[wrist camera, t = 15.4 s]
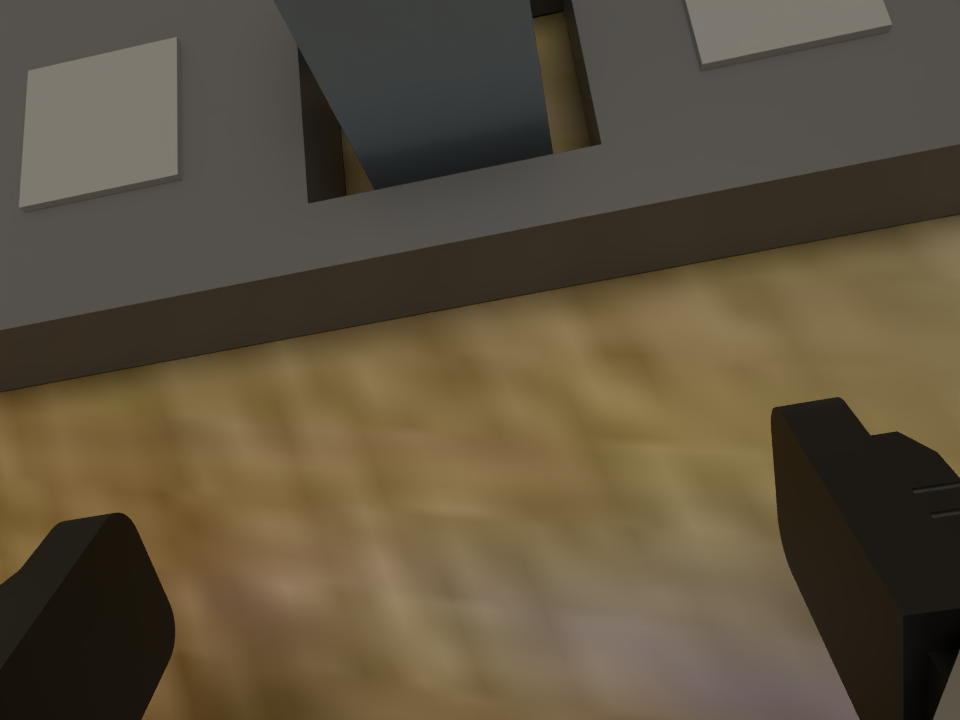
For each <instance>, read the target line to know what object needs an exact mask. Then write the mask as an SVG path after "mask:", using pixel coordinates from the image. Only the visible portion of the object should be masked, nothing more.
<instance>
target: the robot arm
mask: <svg viewBox="0 0 960 720" xmlns="http://www.w3.org/2000/svg"><path fill="white" fill-rule="evenodd" d="M771 433H772V447H773V460H774V473H775V487H776V500H777V514H778V523H779V530H780V535H781V540H782V544H783V548H784V552H785V556H786V559H787V562H788V565H789V567H790V570H791V572H792V575H793V577H794V579H795V581H796V583H797V585H798V588H799V590H800V592H801V594H802V596H803V598H804V600H805V603H806V605H807V607H808V609H809V611H810V613H811V616H812V618H813V620H814V622H815V624H816V626H817V629H818V631H819V633H820V635H821V637H822V639H823V641H824V644H825V646H826V648H827V650H828V652H829V654H830V657H831V659H832V661H833V663H834V665H835V667H836V670H837V672H838V674H839V676H840V678H841V680H842V682H843V685H844V687H845V689H846V691H847V693H848V695H849V698H850V700H851V702H852V704H853V706H854V708H855V711H856V713H857V715H858V717H859V719H860V720H960V478H959V477H958V476H957V474H956V473H955V472H954V471H953V470H952V469H951V468H950V466H949V465H948V464H947V463H946V462H945V461H944V459H943V458H942V457H941V456H940V455H939V454H938V453H937V452H936V451H934V450H932V449H930V448H928V447H926V446H924V445H922V444H920V443H918V442H917V441H915V440H913V439H911V438H909V437H907V436H905V435H903V434H901V433H899V432H898V431H897V432H891V433H884V434H878V435H870V434H869V433H868V432H867V430H866V429H865V428H864V426H863V425H862V424H861V422H860V421H859V420H858V418H857V417H856V416H855V414H854V413H853V412H852V410H851V409H850V408H849V407H848V405H847V404H846V403H845V401H844V400H843V399H841V398H840V397H835V398H829V399H823V400H817V401H811V402H805V403H799V404H792V405H786V406H780V407H775V408H773V410H772V414H771ZM174 642H175V622H174V616H173V612H172V608H171V606H170V603H169V601H168V599H167V596H166V594H165V592H164V590H163V587H162V585H161V583H160V581H159V578H158V576H157V574H156V571H155V569H154V567H153V565H152V562H151V560H150V558H149V556H148V553H147V551H146V549H145V547H144V544H143V542H142V540H141V538H140V535H139V533H138V531H137V529H136V527H135V525H134V523H133V522H132V520H131V519H130V518H129V517H128V516H126V515H125V514H123V513H111V514H105V515H99V516H93V517H87V518H81V519H74V520H68V521H63V522H60V523H58V524H57V525H55V527H54V528H53V529H52V530H51V531H50V532H49V534H48V535H47V536H46V537H45V539H44V540H43V541H42V543H41V544H40V545H39V546H38V548H37V549H36V550H35V551H34V553H33V554H32V555H31V556H30V558H29V559H28V560H27V562H26V563H25V564H24V565H23V567H22V568H21V569H20V570H19V571H18V572H16V573H15V574H14V575H13V576H11V577H10V578H9V579H8V580H6V581H5V582H4V583H3V584H1V585H0V720H141V719H142V717H143V715H144V713H145V711H146V709H147V707H148V704H149V702H150V700H151V698H152V696H153V694H154V692H155V690H156V688H157V686H158V683H159V681H160V679H161V677H162V675H163V673H164V671H165V669H166V667H167V665H168V662H169V660H170V658H171V655H172V652H173V648H174Z"/></svg>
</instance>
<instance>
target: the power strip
mask: <svg viewBox="0 0 960 720" xmlns="http://www.w3.org/2000/svg"><path fill="white" fill-rule="evenodd" d="M530 7H531V13H532V17H535V16H540V15H544V14H549V13H553V12H558V11H562V10H564V14H565V19H566V24H567V29H568V34H569V39H570V44H571V49H572V53H573V58H574V63H575V68H576V73H577V78H578V83H579V88H580V93H581V98H582V103H583V108H584V113H585V117H586V122H587V127H588V132H589V137H590V142H591V146H590V147H586V148H581V149H576V150H571V151H566V152H561V153H556V154H551V155H546V156H541V157H536V158H531V159H526V160H521V161H516V162H511V163H507V164H502V165H497V166H492V167H487V168H482V169H477V170H472V171H467V172H462V173H457V174H452V175H447V176H442V177H437V178H432V179H428V180H423V181H418V182H413V183H408V184H403V185H398V186H393V187H388V188H383V189H378V190H373V191H368V192H363V193H358V194H353V195H349V196H346V191H345V179H344V167H343V155H342V143H341V132H340V124H339V122H338V120H337V118H336V116H335V114H334V112H333V111H332V109H331V107H330V105H329V103H328V101H327V99H326V97H325V96H324V94H323V92H322V90H321V88H320V86H319V84H318V83H317V81H316V79H315V77H314V75H313V73H312V71H311V69H310V68H309V66H308V64H307V62H306V60H305V58H304V56H303V55H302V53H301V51H300V49H299V47H298V45H297V43H296V41H295V40H294V38H293V36H292V34H291V32H290V30H289V28H288V27H287V25H286V23H285V21H284V19H283V17H282V15H281V13H280V12H279V10H278V8H277V6H276V4H275V2H274V0H0V392H1V391H6V390H12V389H17V388H22V387H28V386H33V385H39V384H44V383H49V382H55V381H60V380H66V379H71V378H76V377H82V376H87V375H93V374H98V373H103V372H109V371H114V370H119V369H125V368H130V367H136V366H141V365H146V364H152V363H157V362H163V361H168V360H173V359H179V358H184V357H190V356H195V355H200V354H206V353H211V352H217V351H222V350H227V349H233V348H238V347H243V346H249V345H254V344H260V343H265V342H270V341H276V340H281V339H287V338H292V337H297V336H303V335H308V334H314V333H319V332H324V331H330V330H335V329H340V328H346V327H351V326H357V325H362V324H367V323H373V322H378V321H384V320H389V319H394V318H400V317H405V316H410V315H416V314H421V313H427V312H432V311H437V310H443V309H448V308H454V307H459V306H464V305H470V304H475V303H481V302H486V301H491V300H497V299H502V298H508V297H513V296H518V295H524V294H529V293H534V292H540V291H545V290H551V289H556V288H561V287H567V286H572V285H578V284H583V283H588V282H594V281H599V280H605V279H610V278H615V277H621V276H626V275H631V274H637V273H642V272H648V271H653V270H658V269H664V268H669V267H675V266H680V265H685V264H691V263H696V262H702V261H707V260H712V259H718V258H723V257H728V256H734V255H739V254H745V253H750V252H755V251H761V250H766V249H772V248H777V247H782V246H788V245H793V244H799V243H804V242H809V241H815V240H820V239H825V238H831V237H836V236H842V235H847V234H852V233H858V232H863V231H869V230H874V229H879V228H885V227H890V226H896V225H901V224H906V223H912V222H917V221H922V220H928V219H933V218H939V217H944V216H949V215H955V214H960V0H530Z"/></svg>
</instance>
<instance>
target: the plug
mask: <svg viewBox="0 0 960 720" xmlns="http://www.w3.org/2000/svg"><path fill="white" fill-rule="evenodd" d="M274 2H275V4H276V6H277V8H278V10H279V12H280V13H281V15H282V17H283V19H284V21H285V23H286V25H287V27H288V28H289V30H290V32H291V34H292V36H293V38H294V40H295V41H296V43H297V45H298V47H299V49H300V51H301V53H302V55H303V56H304V58H305V60H306V62H307V64H308V66H309V68H310V69H311V71H312V73H313V75H314V77H315V79H316V81H317V83H318V84H319V86H320V88H321V90H322V92H323V94H324V96H325V97H326V99H327V101H328V103H329V105H330V107H331V109H332V111H333V112H334V114H335V116H336V118H337V120H338V122H339V124H340V125H341V127H342V129H343V131H344V133H345V135H346V137H347V139H348V140H349V142H350V144H351V146H352V148H353V150H354V152H355V153H356V155H357V157H358V159H359V161H360V163H361V165H362V167H363V168H364V170H365V172H366V174H367V176H368V178H369V180H370V181H371V183H372V185H373V187H374V189H375V190H378V189H383V188H388V187H393V186H398V185H403V184H408V183H413V182H418V181H423V180H428V179H432V178H437V177H442V176H447V175H452V174H457V173H462V172H467V171H472V170H477V169H482V168H487V167H492V166H497V165H502V164H507V163H511V162H516V161H521V160H526V159H531V158H536V157H541V156H546V155H551V154H553V150H552V144H551V137H550V131H549V124H548V118H547V111H546V105H545V98H544V92H543V85H542V79H541V72H540V66H539V59H538V52H537V46H536V39H535V33H534V26H533V20H532V13H531V7H530V0H274Z"/></svg>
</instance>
